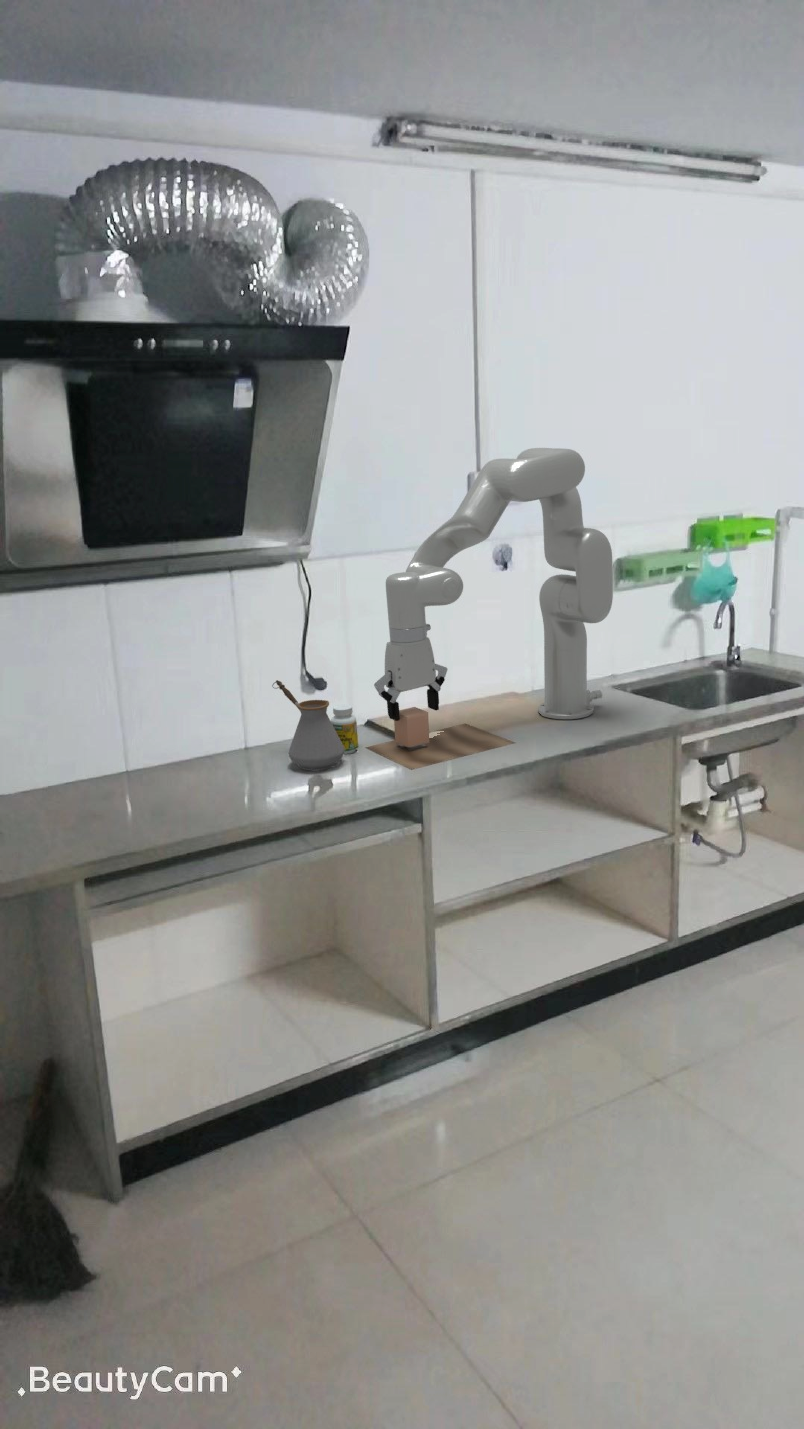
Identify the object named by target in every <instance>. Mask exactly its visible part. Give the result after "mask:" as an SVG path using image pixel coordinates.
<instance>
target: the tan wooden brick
mask: <svg viewBox="0 0 804 1429" xmlns="http://www.w3.org/2000/svg"><path fill="white" fill-rule="evenodd" d="M399 714H400V720H399V721H395V720H393V726H394V740H395V742H397V743H399V744H402V745H404V746H406V747H408V748H409V747H413V746H417V745H421V744H425V743H429V732H430V724H429V723H430V722H429V712H428V711H426V710H424V709H421V708H418V707H416V706H413V707H407V708H402V709H399Z"/></svg>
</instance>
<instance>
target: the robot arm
mask: <svg viewBox="0 0 804 1429" xmlns="http://www.w3.org/2000/svg"><path fill="white" fill-rule="evenodd" d="M585 465H586V464H585V461H584V459H583V457H582V456H581V454H580V453H578V452H577V451H576V450H575V449H571V448H560V447H559V448H555V447H554V448H553V447H552V448H551V447H550V448H549V447H532V448H527V449H525V450H523V451H521V452H520V453H519V454H518V455H517V457H516V458H493V459H491V460H489V461H488V462H486V463H485V464H484V466H483V467H482V468H481V469H480V471H479V473H478V475H477V476H476V477H475V480H474V481H473V483H472V484H471V486H470V488H469V489H468V491H467V493H466V494H465V496H464V498H463V500H462V501H461V503H460V504H459V506H458V508H457V509H456V511H455V512H454V514H453V515H452V517H451V518H449V519H448V520H447V521H445V522H444V523H443V524H442V525H440V526H439V527H438V528H437V529H436V530H435V531H434V532H432V533H431V534H430V535H429V536H428V537H427V538H426V539H425V540H424V541H423V542H422V543H421V545H420V546H419V547H418V549H417V550H416V552H415V554H414V555H413V556H412V558H411V561H410V562H409V564H408V566H407V568H406V570H405V572H396V573H393V574H390V575H389V576H387V577H386V580H385V592H386V593H385V594H386V606H387V619H388V630H389V631H388V632H389V641H388V642H386V645H385V650H384V651H385V652H384V674H383V676H381V677H380V678H379V679H378V680H376V682H375V683H374V684H373V686H374V688H375V690H376V691H377V693H378V695H379V696H380V697H381V698H383V700H385V701H386V706H387V707H386V708H387V715H388V718H389V719H391V720H392V721H394V720H395V721H399V720H400V714H399V710H400V704H399V702H398V701H397V700H398V698H399V696H400V694H401V693H402V692H407V691H412V690H415V689H419V688H423V687H428V689H426V699H427V708H429V709H431V710H433V711H439V710H440V708H439V704H440V696H439V694H440V693H439V692H440V691H441V690H442V686H443V684H444V682H445V680H446V679H445V678H446V675H447V672H448V667H447V666H443V665H441V664H437V663H435V656H434V651H433V650H434V649H433V647H432V644H431V640H430V637H428V631H431V629H432V628H431V627H432V626H431V625H430V624H429V623H427V622H426V621H427V620H426V607H434V606H435V607H437V606H442V607H443V606H447V605H451V604H453V603H455V602H456V601H457V600H459V599H460V597H461V596H462V593H463V592H464V582H463V579H462V577H461V575H460V574H458V572H456V571H455V570H453V569H450V568H448V567H445V565H447V563H448V562H449V561H450V560H451V559H452V558H453V557H455V555H457V554H459V553H460V552H462V551H464V550H466V549H468V548H471V547H474V546H476V545H478V544H480V543H482V542H484V541H486V540H488V538H489V537H490V536H491V535H492V532H493V531H494V530H495V527H496V526H497V525H498V522H499V521H500V519H501V518H502V516H503V514H504V512H505V510H506V509H507V507H508V505H510V503H511V502H519V503H527V502H532V501H537V500H539V503H540V505H541V511H542V524H543V525H542V526H543V548H544V549H543V550H544V558H545V560H546V562H547V563H548V566H551V567H552V568H555V569H559V570H564V571H570V572H575V575H571V574H562V573H561V574H556V575H552V576H550V577H548V578H547V579H546V580H545V581H544V582H543V583H542V585H541V587H540V591H539V597H538V598H539V607H540V611H541V617H542V623H543V638H544V640H543V642H544V643H543V646H544V647H543V649H544V650H543V651H544V652H543V660H544V662H543V663H544V665H543V666H544V668H543V669H544V671H543V673H544V674H543V676H544V677H543V678H544V702H543V703H541V704H539V705H538V707H537V712H538V711H539V713H540V714H541V715H540V714H539V713H538V714H539V715H540V716H543V717H545V718H548V719H554V720H576V719H583V718H586V717H589V716H591V715H593V714H594V705H592V704H591V702H592V701H593V700H597V699H602V697H603V692H602V690H601V689H598V690H593V691H590V690H589V689H588V684H587V682H588V679H587V678H588V677H587V674H588V668H587V666H588V665H587V663H588V659H587V657H588V656H587V655H588V649H587V648H588V638H587V637H588V636H587V630H586V626H585V624H598V623H600V622H602V621H604V620H605V619H606V618H607V617H608V616H609V613H610V611H611V610H612V605H613V599H614V594H613V593H614V591H613V590H614V586H613V585H614V583H613V582H614V575H613V573H614V572H613V552H612V551H613V549H612V546H611V543H610V541H609V539H608V537H607V536H606V535H605V533H603V532H602V531H600V530H598V529H595V528H591V527H585V526H584V521H583V519H584V518H583V508H582V501H581V497H580V493H579V491H578V488H577V487H578V486H579V485H580V483H581V482H582V481H583V478H584V476H585V472H586V466H585ZM436 672H437V673H436ZM385 687H386V688H388V689H387V690H386V689H385Z"/></svg>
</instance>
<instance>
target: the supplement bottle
mask: <svg viewBox="0 0 804 1429" xmlns="http://www.w3.org/2000/svg"><path fill="white" fill-rule="evenodd" d="M332 714H333V717H332V718H331V719H330V721H331V723H332V725H333V727H334V729H335V731H336V733H337V735H338V736H339V738H340V740H341V742H342V744H343V746H344V748H345V751H344V754H343V755H350V754H353V753H356V752H357V751H358V748H359V738H358V736H359V735H358V723H357V717H356V716H355V715H353V706H352V705H350V704H339V705H335V706H334V707H333V708H332Z"/></svg>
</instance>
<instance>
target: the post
mask: <svg viewBox="0 0 804 1429" xmlns="http://www.w3.org/2000/svg"><path fill="white" fill-rule="evenodd" d="M398 746H399V747H401V748H403V749H405V750H407V751H412V750H416V749H421V748H425V747H427V745H424V744H421V745H417V746H413V747H409V748H408V747H406V746H404V745H402V744H399V745H398Z"/></svg>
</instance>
